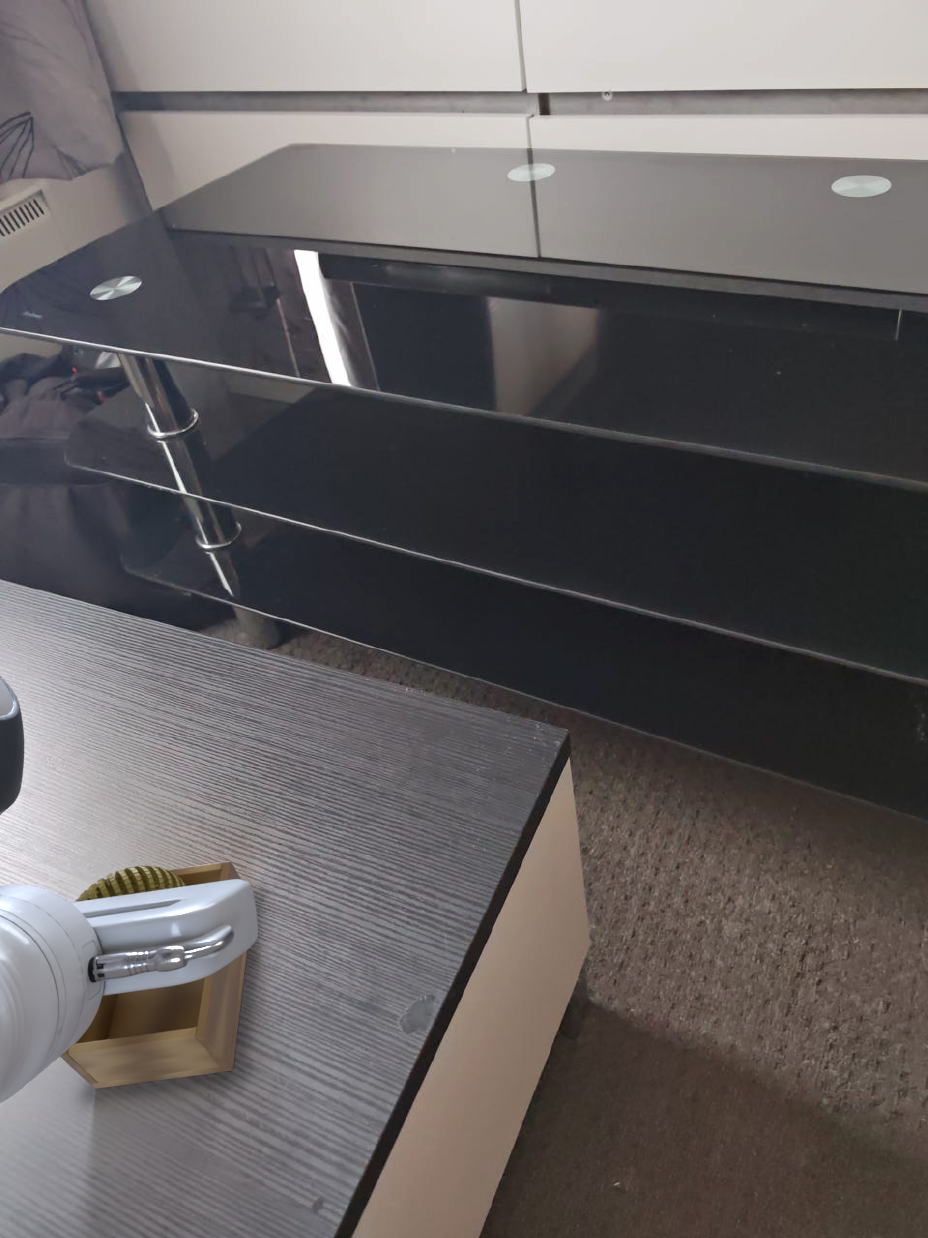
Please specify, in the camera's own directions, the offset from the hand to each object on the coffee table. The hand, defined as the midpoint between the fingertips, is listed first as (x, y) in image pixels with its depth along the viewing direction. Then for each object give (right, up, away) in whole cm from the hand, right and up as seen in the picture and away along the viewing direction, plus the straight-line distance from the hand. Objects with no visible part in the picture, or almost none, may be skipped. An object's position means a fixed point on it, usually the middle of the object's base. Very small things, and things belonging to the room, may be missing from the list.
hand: (125, 908), depth 57 cm
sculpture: (+1, -4, +3) cm, 5 cm away
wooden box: (+2, -7, +6) cm, 10 cm away
